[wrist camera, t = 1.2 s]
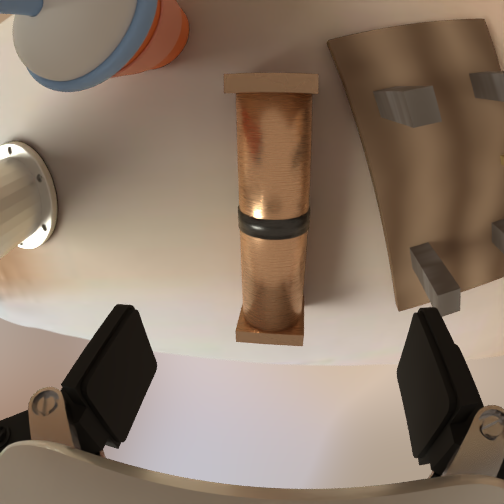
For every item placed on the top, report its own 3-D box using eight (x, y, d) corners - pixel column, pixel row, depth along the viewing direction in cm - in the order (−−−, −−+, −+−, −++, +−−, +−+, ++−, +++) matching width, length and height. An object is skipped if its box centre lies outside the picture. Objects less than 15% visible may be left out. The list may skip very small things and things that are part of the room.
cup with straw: (215, -16, 18) (86, -137, 2) (201, 88, 22) (25, 102, 6) (114, -7, 18) (-56, -46, 3) (102, 87, 23) (-84, 126, 7)
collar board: (395, 304, 29) (416, 365, 22) (326, 42, 19) (341, 18, 12) (511, 265, 25) (550, 312, 18) (477, 20, 15) (533, 6, 8)
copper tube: (303, 305, 30) (302, 346, 25) (245, 302, 31) (236, 341, 26) (313, 78, 21) (318, 74, 16) (239, 78, 22) (223, 74, 17)
